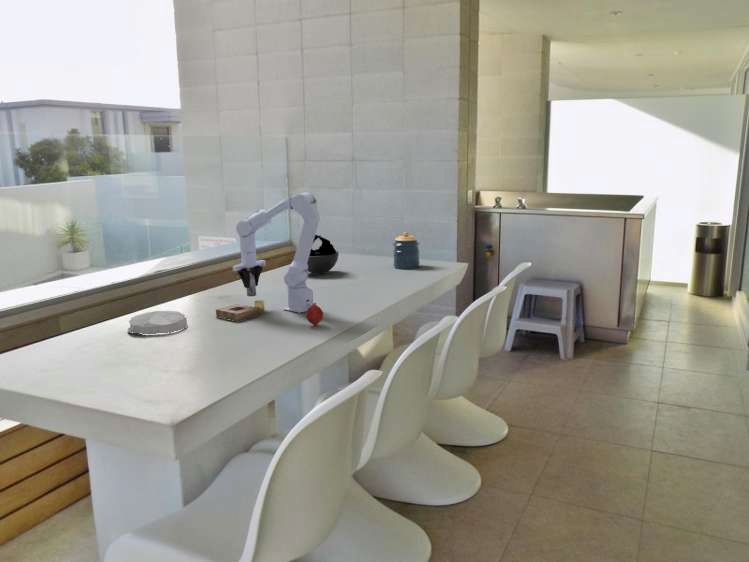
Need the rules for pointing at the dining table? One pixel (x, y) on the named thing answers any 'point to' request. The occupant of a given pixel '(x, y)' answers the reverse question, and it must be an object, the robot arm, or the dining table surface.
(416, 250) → the canister
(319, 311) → the onion
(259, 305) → the brass pin short
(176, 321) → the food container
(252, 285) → the steel pin long
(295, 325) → the dining table surface
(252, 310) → the collar block
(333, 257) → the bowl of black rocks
